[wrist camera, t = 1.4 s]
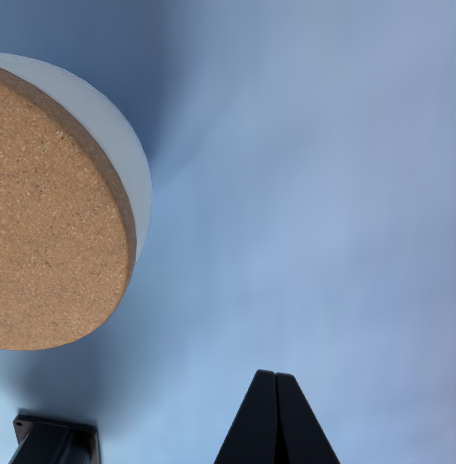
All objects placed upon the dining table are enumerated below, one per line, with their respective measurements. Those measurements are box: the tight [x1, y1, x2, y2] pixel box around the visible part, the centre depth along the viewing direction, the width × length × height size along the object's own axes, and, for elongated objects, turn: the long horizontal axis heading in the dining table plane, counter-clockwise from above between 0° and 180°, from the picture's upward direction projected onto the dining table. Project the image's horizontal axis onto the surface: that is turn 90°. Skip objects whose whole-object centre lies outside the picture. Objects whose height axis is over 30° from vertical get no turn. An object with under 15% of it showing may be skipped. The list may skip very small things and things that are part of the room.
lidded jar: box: [0, 53, 153, 350], centre depth 15 cm, size 11×11×9 cm
